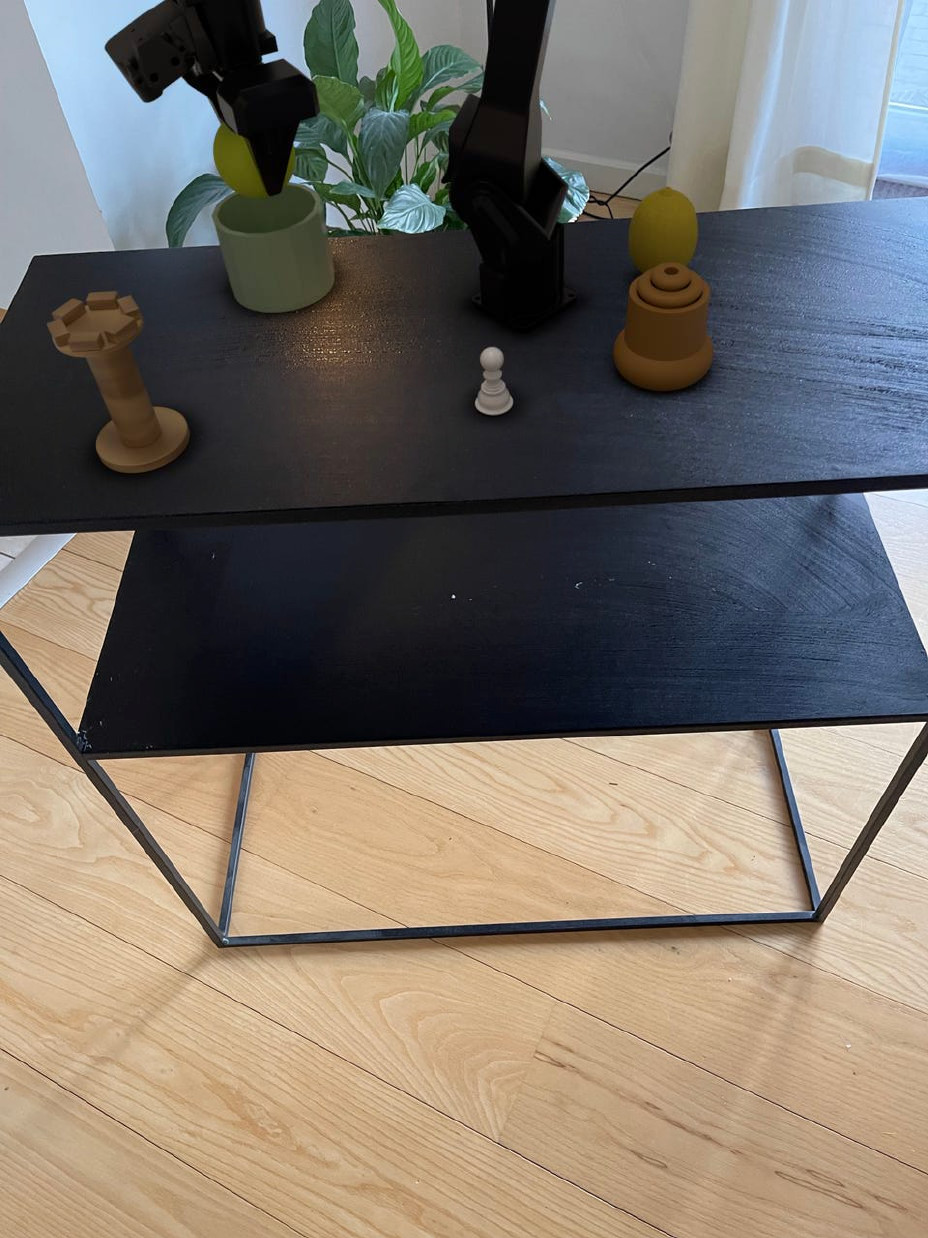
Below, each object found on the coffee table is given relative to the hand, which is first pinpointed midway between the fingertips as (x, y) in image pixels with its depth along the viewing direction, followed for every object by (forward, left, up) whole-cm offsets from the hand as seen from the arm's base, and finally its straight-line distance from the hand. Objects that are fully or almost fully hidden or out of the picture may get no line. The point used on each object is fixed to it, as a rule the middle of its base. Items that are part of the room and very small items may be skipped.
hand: (260, 178), depth 79 cm
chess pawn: (-1, +26, -10) cm, 28 cm away
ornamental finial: (-13, +32, -10) cm, 36 cm away
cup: (0, 0, -10) cm, 10 cm away
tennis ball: (0, 0, +2) cm, 2 cm away
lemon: (-22, +24, -10) cm, 34 cm away
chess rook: (+20, +10, -10) cm, 24 cm away
